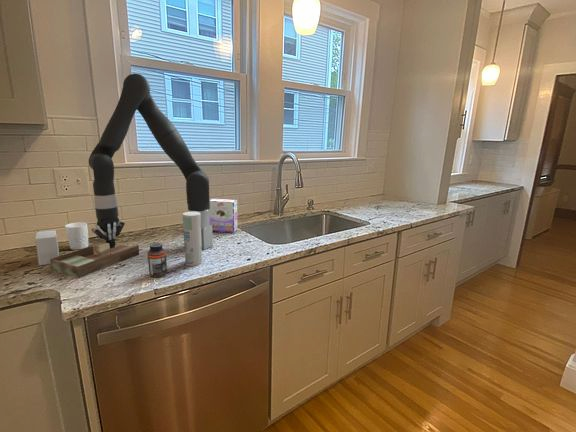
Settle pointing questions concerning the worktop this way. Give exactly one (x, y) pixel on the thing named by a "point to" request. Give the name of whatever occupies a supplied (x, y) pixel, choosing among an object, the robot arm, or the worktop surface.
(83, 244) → the white cup
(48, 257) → the skincare box
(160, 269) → the supplement bottle
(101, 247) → the maple block
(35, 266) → the worktop surface
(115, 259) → the box
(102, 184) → the robot arm
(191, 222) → the spray can
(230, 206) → the candy box
